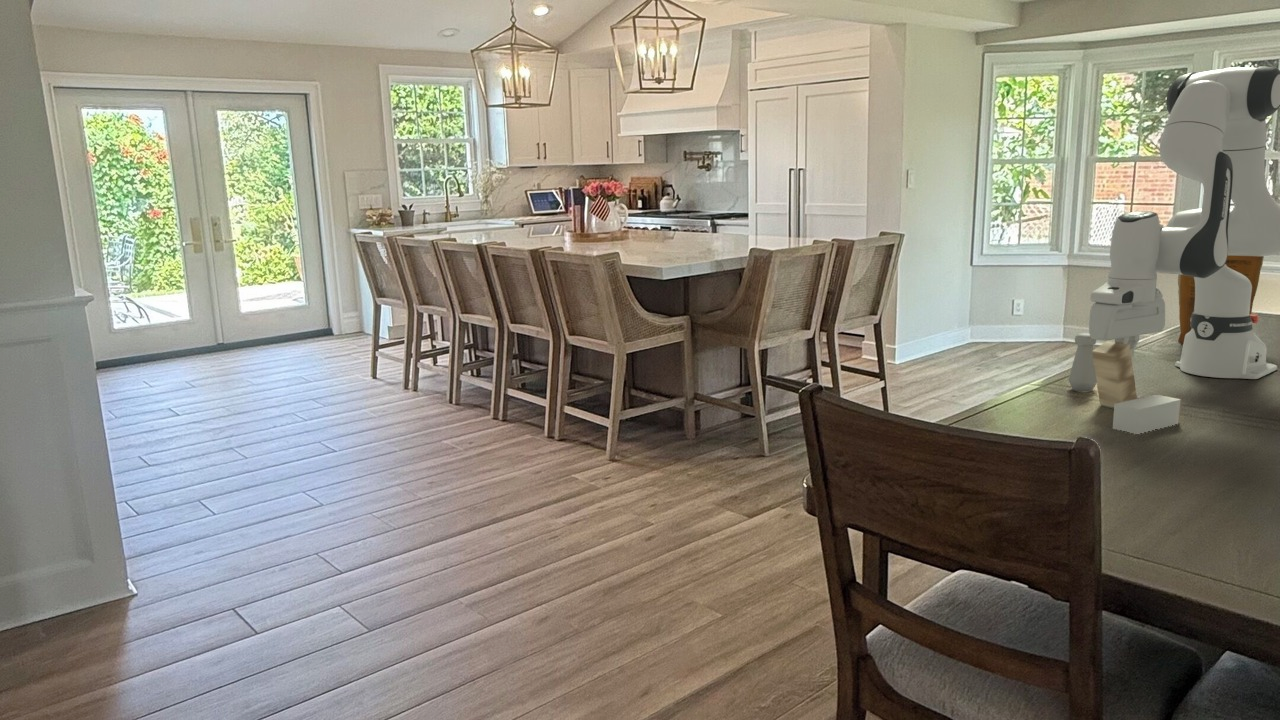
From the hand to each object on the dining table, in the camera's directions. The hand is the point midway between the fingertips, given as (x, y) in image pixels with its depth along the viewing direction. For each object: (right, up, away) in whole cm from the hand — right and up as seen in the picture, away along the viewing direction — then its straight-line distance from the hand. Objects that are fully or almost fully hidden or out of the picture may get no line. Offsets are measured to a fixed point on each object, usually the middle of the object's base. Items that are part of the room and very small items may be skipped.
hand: (1125, 357), depth 186 cm
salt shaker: (-1, -8, +16) cm, 18 cm away
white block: (+3, -10, -10) cm, 15 cm away
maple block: (-1, -10, +2) cm, 10 cm away
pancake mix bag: (+55, +3, +57) cm, 79 cm away
